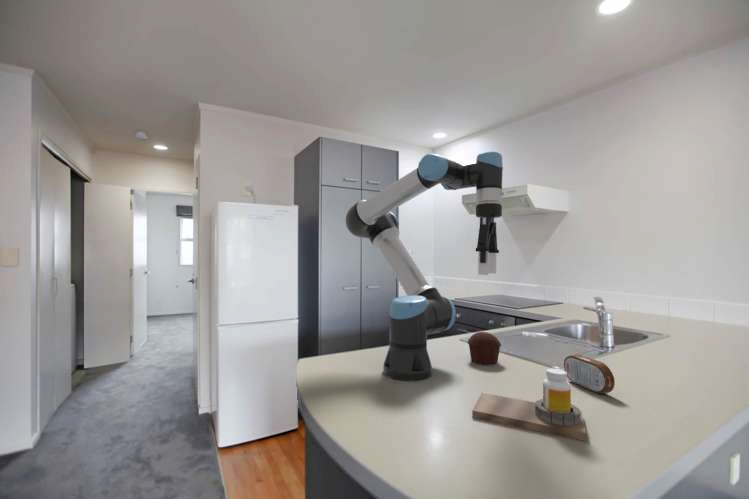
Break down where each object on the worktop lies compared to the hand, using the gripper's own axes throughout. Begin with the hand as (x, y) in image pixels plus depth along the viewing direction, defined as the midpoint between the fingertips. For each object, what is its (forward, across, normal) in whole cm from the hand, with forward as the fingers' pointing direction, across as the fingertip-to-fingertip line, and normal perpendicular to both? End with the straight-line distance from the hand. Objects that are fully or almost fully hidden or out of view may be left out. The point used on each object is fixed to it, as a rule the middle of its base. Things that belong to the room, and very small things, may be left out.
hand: (487, 274), depth 106 cm
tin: (+31, +7, -26) cm, 41 cm away
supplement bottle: (+30, -22, -19) cm, 42 cm away
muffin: (+32, +18, +4) cm, 37 cm away
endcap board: (+31, -23, -13) cm, 41 cm away
